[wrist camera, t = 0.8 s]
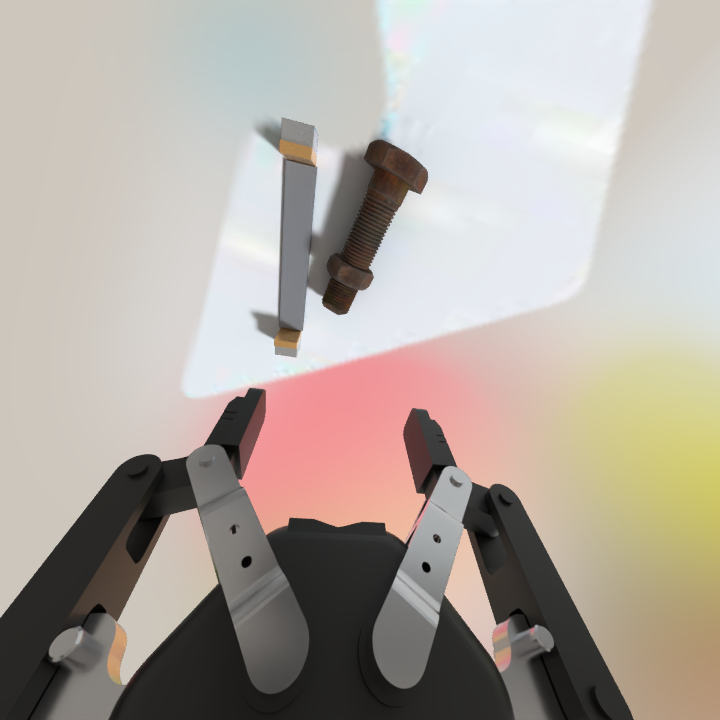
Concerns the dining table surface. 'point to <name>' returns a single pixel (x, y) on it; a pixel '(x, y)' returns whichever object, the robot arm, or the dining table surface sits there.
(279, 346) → the small wooden block
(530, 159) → the dining table surface
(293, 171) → the pad
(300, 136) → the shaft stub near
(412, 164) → the bolt
